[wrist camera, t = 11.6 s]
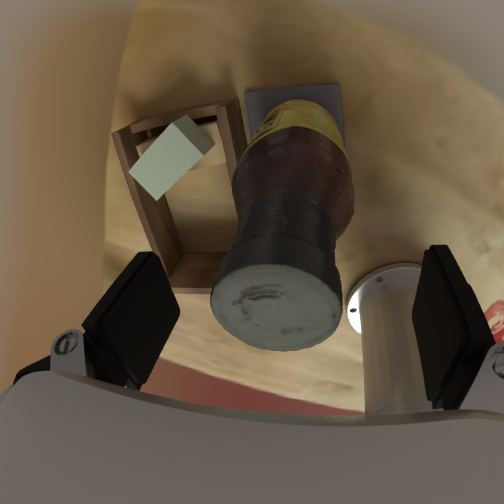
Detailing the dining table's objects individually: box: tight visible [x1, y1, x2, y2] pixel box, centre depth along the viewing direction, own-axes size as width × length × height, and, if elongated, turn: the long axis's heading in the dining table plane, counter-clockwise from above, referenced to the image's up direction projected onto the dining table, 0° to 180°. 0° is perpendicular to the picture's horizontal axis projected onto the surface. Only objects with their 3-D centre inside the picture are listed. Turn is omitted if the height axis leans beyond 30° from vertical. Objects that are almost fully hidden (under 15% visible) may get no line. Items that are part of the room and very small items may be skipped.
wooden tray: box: [112, 99, 247, 294], centre depth 27 cm, size 11×17×6 cm, turn 10°
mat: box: [244, 84, 345, 148], centre depth 24 cm, size 8×8×1 cm
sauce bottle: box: [210, 99, 355, 352], centre depth 16 cm, size 7×6×20 cm
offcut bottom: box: [136, 118, 227, 171], centre depth 26 cm, size 8×4×4 cm, turn 104°
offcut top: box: [129, 115, 216, 201], centre depth 23 cm, size 6×4×3 cm, turn 132°
